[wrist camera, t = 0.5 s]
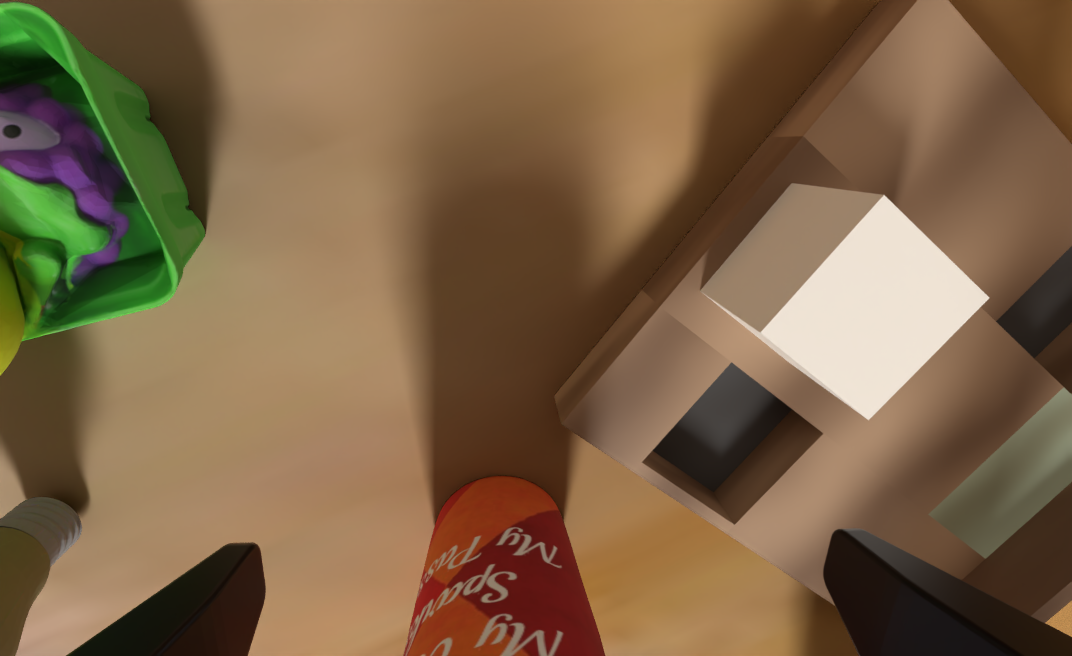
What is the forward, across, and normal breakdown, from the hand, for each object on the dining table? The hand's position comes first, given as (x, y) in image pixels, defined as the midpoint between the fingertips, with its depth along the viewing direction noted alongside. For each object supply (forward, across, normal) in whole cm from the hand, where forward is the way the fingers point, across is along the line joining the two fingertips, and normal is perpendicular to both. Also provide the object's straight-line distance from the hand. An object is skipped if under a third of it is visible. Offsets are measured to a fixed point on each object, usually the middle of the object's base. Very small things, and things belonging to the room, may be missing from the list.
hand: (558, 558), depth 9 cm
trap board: (+13, -15, +2) cm, 20 cm away
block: (+11, -9, -2) cm, 14 cm away
